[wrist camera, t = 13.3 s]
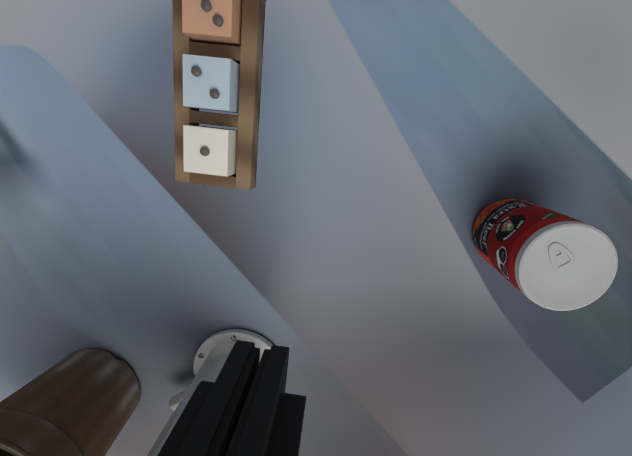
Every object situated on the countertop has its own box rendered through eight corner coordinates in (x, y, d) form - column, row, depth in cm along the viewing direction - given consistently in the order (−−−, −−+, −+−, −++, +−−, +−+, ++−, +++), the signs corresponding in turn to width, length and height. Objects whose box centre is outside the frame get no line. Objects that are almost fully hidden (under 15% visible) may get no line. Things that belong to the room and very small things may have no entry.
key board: (255, 186, 38) (249, 190, 36) (185, 178, 39) (175, 181, 37) (266, -18, 33) (260, -29, 30) (183, -25, 33) (171, -37, 31)
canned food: (505, 182, 36) (571, 203, 26) (557, 226, 37) (642, 264, 26) (454, 235, 38) (497, 273, 28) (505, 275, 39) (564, 328, 29)
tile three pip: (242, 46, 34) (230, 36, 30) (198, 42, 34) (180, 31, 30) (244, -6, 32) (231, -24, 29) (198, -10, 33) (180, -28, 29)
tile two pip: (240, 112, 36) (228, 110, 32) (198, 108, 36) (181, 105, 32) (241, 66, 34) (229, 58, 30) (198, 61, 34) (181, 53, 31)
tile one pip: (237, 172, 37) (226, 177, 34) (198, 167, 38) (182, 171, 34) (239, 130, 36) (227, 130, 32) (198, 125, 36) (181, 125, 33)
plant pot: (83, 436, 52) (-28, 565, 36) (27, 351, 48) (-123, 454, 32) (173, 414, 49) (95, 543, 34) (121, 322, 45) (6, 420, 30)
